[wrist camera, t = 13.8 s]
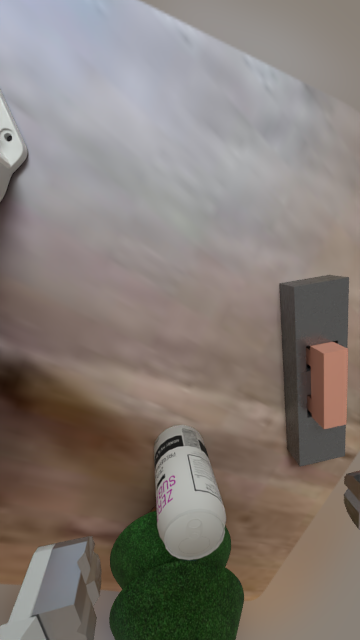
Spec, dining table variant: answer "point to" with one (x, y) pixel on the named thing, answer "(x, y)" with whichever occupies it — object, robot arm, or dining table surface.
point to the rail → (298, 332)
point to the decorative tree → (171, 589)
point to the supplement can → (187, 495)
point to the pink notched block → (328, 383)
